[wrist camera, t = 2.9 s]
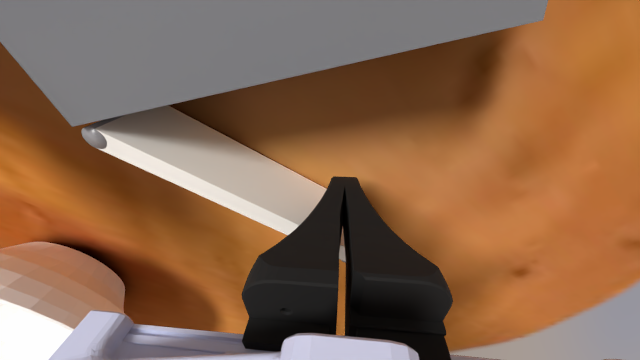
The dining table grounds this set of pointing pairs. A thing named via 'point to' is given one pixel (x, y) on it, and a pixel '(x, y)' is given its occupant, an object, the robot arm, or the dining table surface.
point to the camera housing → (219, 43)
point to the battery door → (209, 166)
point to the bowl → (50, 297)
